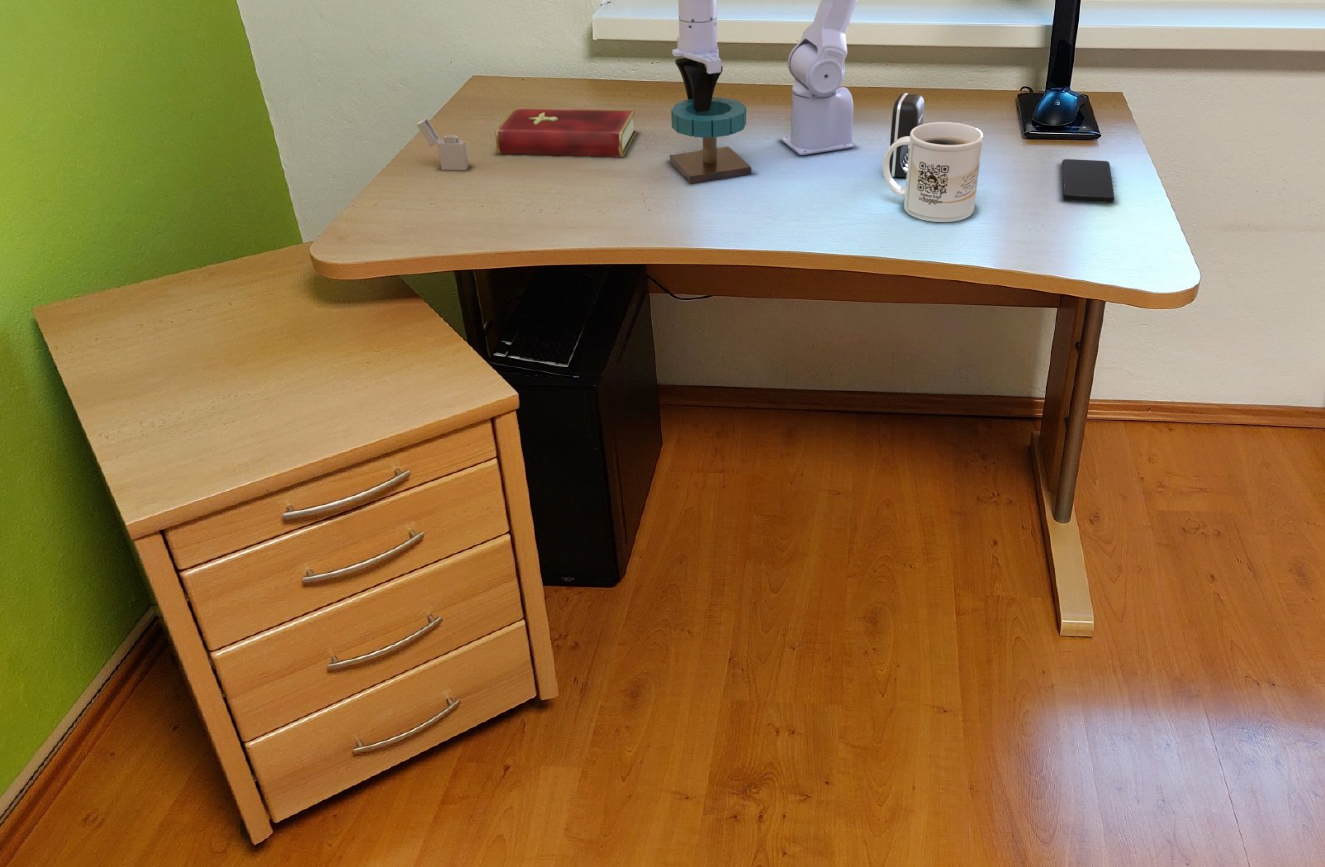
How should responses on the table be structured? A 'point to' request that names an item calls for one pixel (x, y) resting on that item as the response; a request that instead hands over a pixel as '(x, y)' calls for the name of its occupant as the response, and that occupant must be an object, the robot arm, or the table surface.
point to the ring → (709, 118)
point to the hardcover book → (566, 132)
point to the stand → (710, 163)
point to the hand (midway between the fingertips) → (699, 107)
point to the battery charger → (904, 129)
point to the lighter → (446, 147)
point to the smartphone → (1087, 180)
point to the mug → (939, 171)
